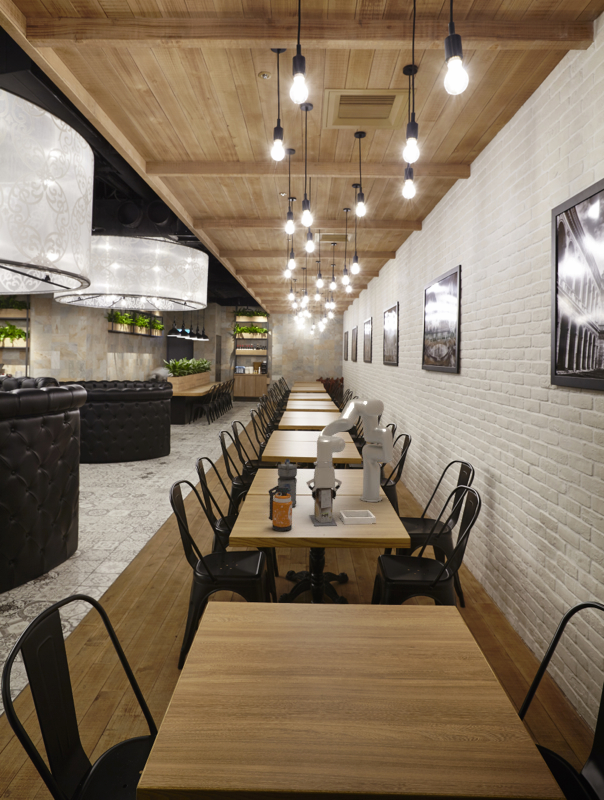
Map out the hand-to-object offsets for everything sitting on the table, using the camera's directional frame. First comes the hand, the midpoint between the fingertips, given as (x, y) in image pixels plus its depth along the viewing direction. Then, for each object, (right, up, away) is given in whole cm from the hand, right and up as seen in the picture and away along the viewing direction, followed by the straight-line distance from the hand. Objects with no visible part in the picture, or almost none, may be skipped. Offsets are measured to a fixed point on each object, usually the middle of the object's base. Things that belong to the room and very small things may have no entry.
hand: (323, 498), depth 246 cm
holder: (+16, -11, +3) cm, 20 cm away
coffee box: (0, -11, +1) cm, 11 cm away
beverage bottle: (-19, -9, +25) cm, 33 cm away
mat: (0, -11, 0) cm, 11 cm away
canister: (-21, -12, -12) cm, 27 cm away
